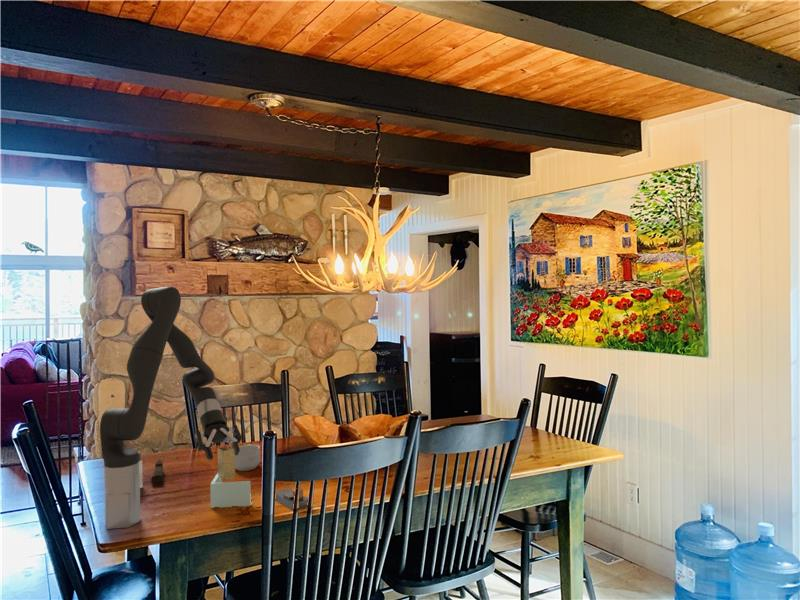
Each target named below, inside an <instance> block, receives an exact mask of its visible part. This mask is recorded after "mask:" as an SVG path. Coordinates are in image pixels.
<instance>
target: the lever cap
mask: <svg viewBox="0 0 800 600" xmlns="http://www.w3.org/2000/svg"><path fill="white" fill-rule="evenodd" d="M235 469H236V468H235V460H234V449H233V448H232V446H229V445H227V446H221V447H217V473H218V476H219V477H221V478H222V479H223V480H228V479H232V478H235V477H236V473H235V472H236V470H235Z"/></svg>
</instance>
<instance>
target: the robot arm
mask: <svg viewBox="0 0 800 600" xmlns="http://www.w3.org/2000/svg"><path fill="white" fill-rule="evenodd" d="M181 301H182V297H181V293H180V291H179V290H178V289H177V288H176V287H174V286H162V287H155V288H149V289H147V290H145V291H144V292H142V294H141V297H140V304H141V307H142V309H143V311H144V313H145V314H146V316H147V317H148V319H150V321H151V324H150V325H149V326H148V327H147V328H146V329H145V331H144V332H143V333H142V334H141V335H140V336H139V337H138V338H137V339H136V341H135V342H134V344H133V346H132V347H131V349H130V350H131V351H130V354H129V357H128V359H127V362H126V371H127V374H128V378H129V381H130V383H131V386H132V391H133V393H132V400H131V403H130V406H129V407H113V408H112V407H111V408H108V409H107V410H105V411H104V412H103V413H102V415H101V418H100V422H99V435H100V437H99V438H100V451H101V452H100V453H101V457H102V459H103V462H104V463H103V465H104V468H103V470H104V474H103V475H104V515H105V516H104V520H105V522H104V523H105V527H106V526H107V527H106V529H107V530H108V529H109V530H111V529H123V528H125V529H126V528H130V527H132V526H134V525H136V524H138V523H140V521H141V488H140V474H139V453H138V451H139V450H136V449H134V448H132V447H130V446H129V445H127V444H126V443H125V441H128V442H129V441H136V440H138V439H139V438H140V437H141V436H142V434H143V432H144V429H145V426H146V423H147V416H148V413H149V406H150V402H151V398H152V397H151V396H152V392H153V389H154V386H155V382H156V379H157V375H158V372H159V369H160V367H161V363H162V359H163V355H164V352H165V349H166V345H167V344H168V345H169V347H170V348H171V350H172V353H173V354H174V356H175V358H176V360H177V362H178V364H179V365H180V367H181V368H183V369H189V368H193V369H190V370H188V371H186V372H184V374H183V375H182V379H181V380H182V383H183V385H184V387H185V388H186V389H187V391H188V392H189V393H190V394H191V396H192V398H193V400H194V403H195V406H196V409H197V414H198V419H199V422H200V424H201V427H202V428H201V429H202V430H203V431H200V430H196V432H195V434H194V439H195V444H196V449H197V450H198V451H204V454H205V456H206V459H208V460H209V461H212V460H213V459H214V454H213V451H212V449H211V443H213V444H216V443H218V442H219V443H223V442H225V443H227V444H230V446H231V448H233V449H234V454H235V455H238V453H239V451H240V449H239V446H240V445H239V444H241V441H242V439H243V436H242V435H241V433H240V430H239V427H238V425H236V424H233V426H230V427H229V426H228V425H227V422H226V420H225V416H224V413H223V410H222V408H221V405H220V403H219V401H218V398H217V396H216V395H217V394H216V393H215V390H214V389H213V388H212V387H210V386H208V385H210V384H212V383H213V382H214V381H215V373H214V371H213V369H212V368H211V367H210V366H209V365H208V364H207V363H206V362H205V361H204V360H203V357H201V356H200V354H199V352H198V350H197V349H196V347H195V344H194V343H193V340H192V339H191V338H190V337H189V336H188V335H187V334H186V333H185V332H184V331H183V330H181V328H179V327H178V326H176V325H175V323H174V322H175V320H176V318H177V316H178V313H179V310H180V307H181V304H182V302H181ZM203 437H204V438H205V439H207V441H206V443H205V444H204V442H203Z"/></svg>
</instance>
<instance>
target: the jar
mask: <svg viewBox="0 0 800 600" xmlns="http://www.w3.org/2000/svg"><path fill="white" fill-rule="evenodd" d="M137 451H138V453H139V474H140V489H142V488H143V460H142V452H141V451H139V450H137Z"/></svg>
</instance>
